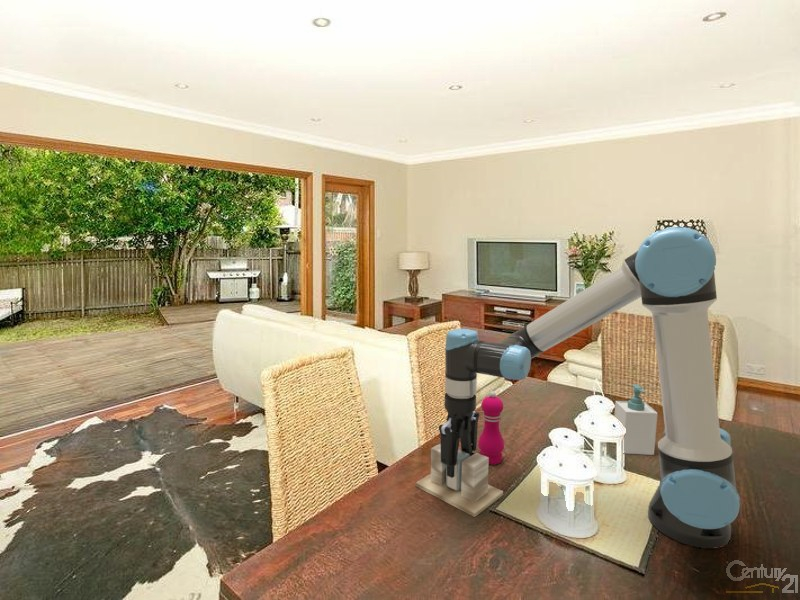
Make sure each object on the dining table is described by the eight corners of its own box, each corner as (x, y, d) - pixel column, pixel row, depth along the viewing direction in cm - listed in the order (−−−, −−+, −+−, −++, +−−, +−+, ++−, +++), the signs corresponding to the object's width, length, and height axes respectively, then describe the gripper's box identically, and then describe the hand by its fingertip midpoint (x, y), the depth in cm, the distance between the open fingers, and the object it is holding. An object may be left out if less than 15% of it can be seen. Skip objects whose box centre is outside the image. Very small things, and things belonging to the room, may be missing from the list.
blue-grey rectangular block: (468, 484, 111) (469, 454, 110) (458, 490, 108) (459, 460, 107) (455, 478, 114) (456, 448, 112) (445, 484, 111) (446, 454, 110)
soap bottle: (623, 454, 129) (627, 390, 126) (612, 440, 138) (616, 380, 135) (654, 455, 128) (660, 392, 125) (641, 441, 137) (646, 381, 134)
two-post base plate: (503, 495, 109) (504, 456, 107) (474, 517, 100) (475, 475, 99) (445, 468, 121) (445, 433, 120) (415, 486, 113) (415, 449, 111)
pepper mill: (504, 466, 122) (506, 397, 119) (477, 464, 124) (479, 395, 121) (503, 454, 129) (505, 388, 126) (478, 451, 131) (479, 386, 128)
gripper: (468, 381, 116) (466, 465, 119) (425, 398, 104) (424, 491, 107) (493, 388, 111) (490, 476, 114) (450, 407, 99) (449, 504, 102)
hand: (458, 483), depth 111 cm, fingers closed on blue-grey rectangular block, 4 cm apart
